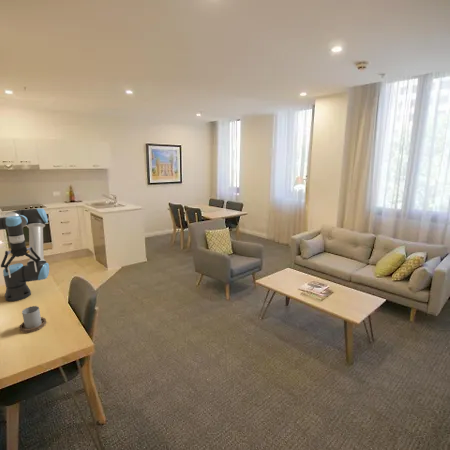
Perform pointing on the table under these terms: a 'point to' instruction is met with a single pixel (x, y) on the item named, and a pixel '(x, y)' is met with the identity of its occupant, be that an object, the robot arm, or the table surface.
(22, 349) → the table surface
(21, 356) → the table surface
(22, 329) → the tray
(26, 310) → the cup
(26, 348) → the table surface
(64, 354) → the table surface
